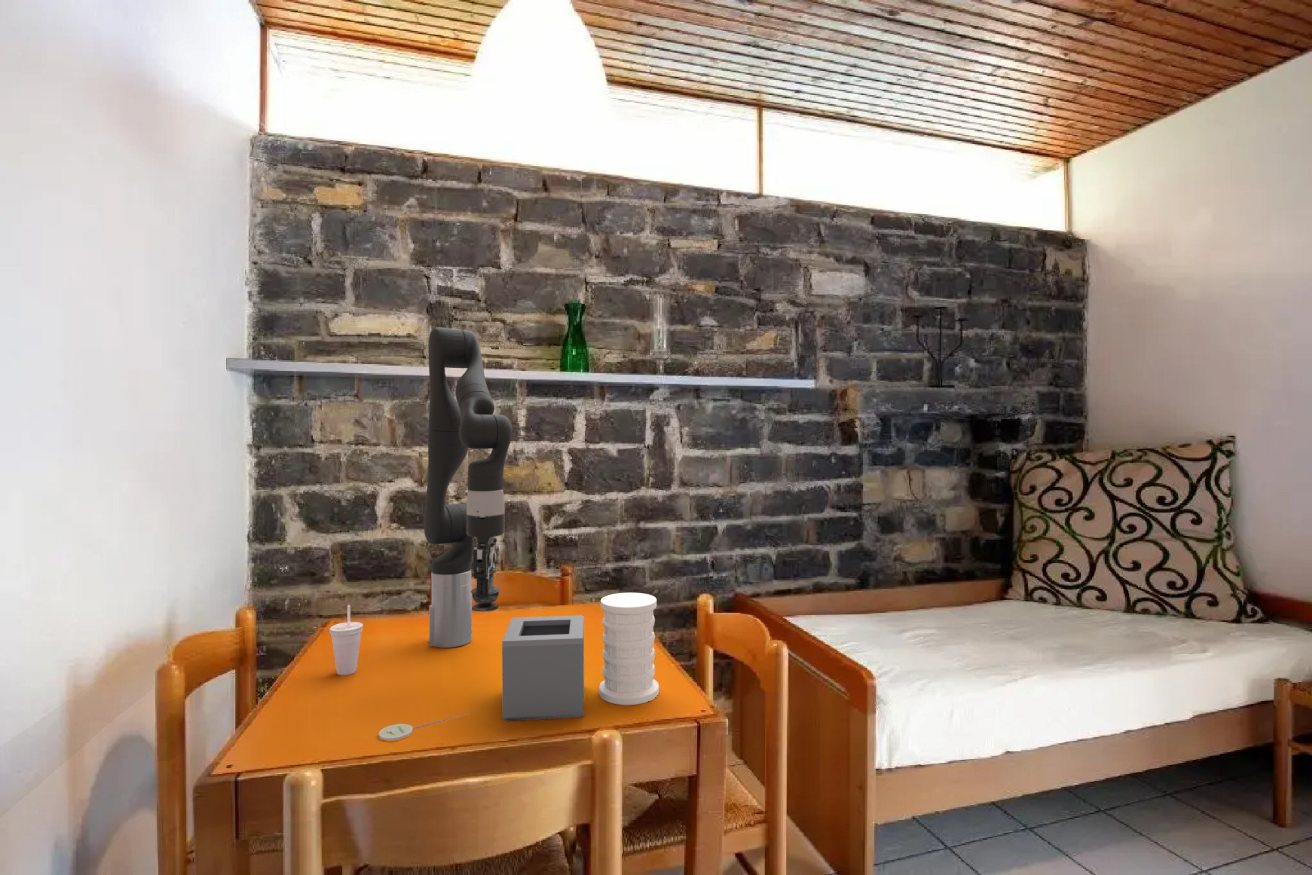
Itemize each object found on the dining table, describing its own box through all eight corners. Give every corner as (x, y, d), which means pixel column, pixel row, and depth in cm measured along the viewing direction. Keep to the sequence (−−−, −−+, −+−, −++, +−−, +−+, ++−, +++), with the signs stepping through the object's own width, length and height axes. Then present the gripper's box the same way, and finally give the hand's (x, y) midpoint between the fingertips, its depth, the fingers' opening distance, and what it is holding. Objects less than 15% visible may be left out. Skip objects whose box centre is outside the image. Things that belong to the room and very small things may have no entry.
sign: (473, 717, 110) (383, 741, 101) (473, 722, 110) (383, 746, 101) (463, 707, 114) (375, 729, 105) (463, 711, 114) (375, 734, 105)
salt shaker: (492, 612, 124) (492, 553, 124) (465, 610, 125) (465, 551, 125) (505, 604, 130) (505, 547, 130) (479, 602, 131) (479, 546, 131)
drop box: (502, 721, 108) (502, 641, 108) (512, 688, 122) (512, 617, 122) (583, 717, 110) (583, 638, 110) (583, 685, 124) (583, 615, 124)
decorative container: (591, 686, 124) (591, 595, 124) (645, 676, 128) (645, 589, 128) (610, 709, 113) (610, 610, 113) (668, 698, 118) (668, 603, 117)
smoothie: (370, 668, 133) (369, 603, 133) (344, 679, 127) (343, 611, 127) (349, 664, 136) (348, 600, 136) (322, 674, 130) (322, 607, 130)
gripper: (473, 507, 134) (473, 584, 134) (459, 517, 120) (459, 603, 120) (508, 507, 135) (508, 584, 135) (499, 516, 121) (498, 602, 121)
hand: (485, 593), depth 128 cm, fingers closed on salt shaker, 6 cm apart
